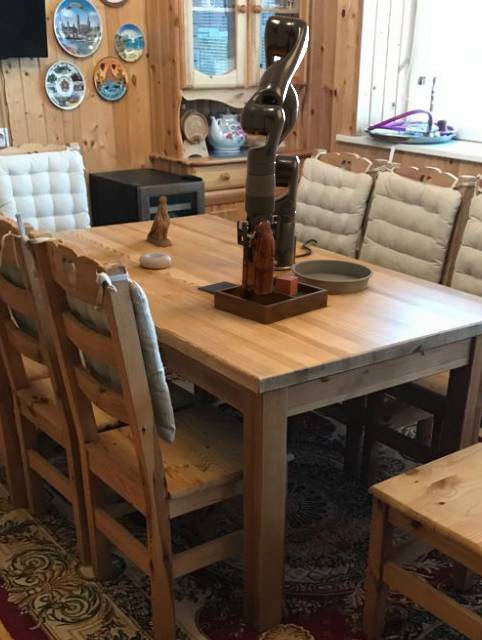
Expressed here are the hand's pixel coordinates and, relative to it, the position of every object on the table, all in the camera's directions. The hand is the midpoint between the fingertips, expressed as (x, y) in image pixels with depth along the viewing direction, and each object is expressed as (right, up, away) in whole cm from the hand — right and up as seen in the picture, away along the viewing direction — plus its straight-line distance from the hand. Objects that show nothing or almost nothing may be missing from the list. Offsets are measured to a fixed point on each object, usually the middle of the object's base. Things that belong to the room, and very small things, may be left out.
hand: (257, 259), depth 212 cm
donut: (-32, +11, +44) cm, 56 cm away
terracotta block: (+8, -6, +13) cm, 16 cm away
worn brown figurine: (-35, +27, +72) cm, 84 cm away
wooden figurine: (0, -7, +4) cm, 8 cm away
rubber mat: (-10, -2, +23) cm, 25 cm away
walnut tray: (+4, -10, +10) cm, 15 cm away
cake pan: (+22, +2, +33) cm, 40 cm away
